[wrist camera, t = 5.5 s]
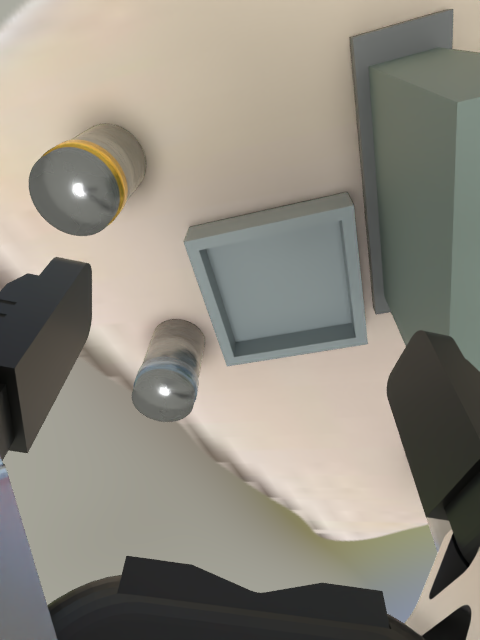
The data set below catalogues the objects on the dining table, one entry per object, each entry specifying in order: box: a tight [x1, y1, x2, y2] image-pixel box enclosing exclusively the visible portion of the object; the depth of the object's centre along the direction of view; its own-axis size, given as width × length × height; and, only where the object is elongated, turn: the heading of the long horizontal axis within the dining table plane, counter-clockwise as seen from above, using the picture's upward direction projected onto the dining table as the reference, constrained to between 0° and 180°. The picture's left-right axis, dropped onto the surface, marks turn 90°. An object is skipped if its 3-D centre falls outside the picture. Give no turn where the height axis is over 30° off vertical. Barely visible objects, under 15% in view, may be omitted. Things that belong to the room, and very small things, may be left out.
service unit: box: [350, 9, 480, 371], centre depth 22 cm, size 18×5×14 cm, turn 14°
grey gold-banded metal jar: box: [29, 124, 146, 236], centre depth 25 cm, size 5×5×7 cm
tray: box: [184, 192, 368, 366], centre depth 31 cm, size 11×11×2 cm
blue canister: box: [132, 319, 205, 422], centre depth 33 cm, size 5×5×7 cm
